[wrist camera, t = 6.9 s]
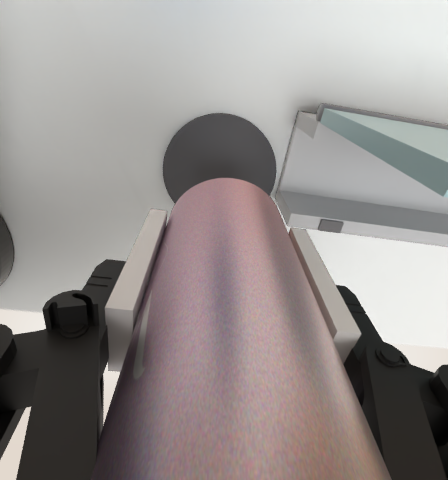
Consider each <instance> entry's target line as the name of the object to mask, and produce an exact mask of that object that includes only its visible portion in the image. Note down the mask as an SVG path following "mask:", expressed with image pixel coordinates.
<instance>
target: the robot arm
mask: <svg viewBox="0 0 448 480" xmlns="http://www.w3.org/2000/svg"><path fill="white" fill-rule="evenodd" d="M166 220H167V211H164V210H157V209H150V211H149V214H148V216H147V218H146V220H145V222H144V224H143V226H142V229H141V231H140V233H139V235H138V237H137V239H136V242H135V244H134V246H133V248H132V250H131V252H130V254H129V257H128V259H127V261H117V260H108V259H106V260H105V261H103V262H102V263H101V264H99V265H98V266H96V268H95V269H94V271H93V273H92V274H91V277H90V278H89V279H88V281H87V283H86V285H85V286H84V288H83V289H82V291H80V290H72V291H67V292H62V293H60V294H58V295H56V296H53V297H52V298H51V299H50V300H49V301H47V302H46V304H45V306H44V307H43V314H44V319H45V325H46V329H44V330H40V331H36V332H29V333H22V334H15V335H13V334H12V330H11V329H10V328H8V327H7V326H6V325H2V324H0V459H1V457H2V455H3V453H4V451H5V449H6V447H7V445H8V443H9V441H10V439H11V437H12V435H13V433H14V431H15V429H16V427H17V425H18V423H19V421H20V418H21V416H22V414H23V412H24V410H25V408H26V407H31V411H30V416H29V421H28V425H27V430H26V435H25V440H24V445H23V450H22V454H21V459H20V464H19V469H18V474H17V478H16V480H91V477H92V473H93V470H94V467H95V463H96V458H97V448H98V442H99V438H100V435H101V432H102V429H103V391H104V389H103V388H104V387H103V386H104V383H103V373H104V370H105V367H106V365H107V362H108V371H120V372H121V369H122V366H123V362H124V359H125V356H126V353H127V350H128V347H129V343H130V340H131V337H132V334H133V331H134V328H135V324H136V321H137V318H138V315H139V312H140V309H141V305H142V302H143V299H144V296H145V293H146V290H147V286H148V283H149V280H150V277H151V274H152V271H153V267H154V264H155V261H156V258H157V255H158V252H159V248H160V245H161V242H162V239H163V236H164V233H165V230H166ZM289 237H290V239H291V242H292V244H293V246H294V249H295V251H296V253H297V256H298V258H299V261H300V263H301V265H302V268H303V270H304V272H305V275H306V277H307V280H308V282H309V284H310V287H311V289H312V291H313V294H314V296H315V299H316V301H317V303H318V306H319V308H320V310H321V313H322V315H323V318H324V320H325V322H326V325H327V327H328V329H329V332H330V334H331V337H332V339H333V341H334V344H335V346H336V348H337V351H338V353H339V356H340V358H341V360H342V363H343V365H344V367H345V370H346V372H347V375H348V377H349V379H350V382H351V384H352V386H353V389H354V391H355V394H356V396H357V398H358V401H359V403H360V405H361V408H362V410H363V413H364V415H365V417H366V420H367V422H368V424H369V427H370V429H371V432H372V434H373V436H374V439H375V441H376V443H377V446H378V448H379V451H380V453H381V455H382V458H383V460H384V462H385V465H386V467H387V470H388V472H389V474H390V477H391V479H392V480H448V365H442V366H441V367H439V368H438V369H437V371H436V372H435V373H433V372H430V371H427V370H425V369H422V368H419V367H416V366H413V365H411V364H410V363H409V361H408V359H407V358H406V357H405V356H404V355H403V354H402V353H401V351H399V350H398V349H397V348H395V347H394V346H392V345H390V344H388V343H385V342H383V341H382V339H381V337H380V336H379V334H378V332H377V331H376V329H375V327H374V326H373V324H372V322H371V321H370V319H369V317H368V316H367V314H365V313H366V312H365V311H364V309H363V307H362V306H361V304H360V302H359V301H358V299H357V297H356V296H355V294H353V293H352V292H351V291H350V290H349V289H348V288H347V287H346V286H339V285H335V283H334V281H333V280H332V278H331V276H330V274H329V272H328V270H327V268H326V266H325V265H324V263H323V261H322V259H321V257H320V255H319V253H318V252H317V250H316V248H315V246H314V244H313V242H312V240H311V238H310V237H309V235H308V233H307V231H306V229H299V228H290V231H289ZM13 258H14V252H13V245H12V240H11V237H10V234H9V231H8V229H7V227H6V225H5V223H4V221H3V219H2V218H1V216H0V285H1V284H2V283H3V282H4V281H5V279H6V278H7V277H8V275H9V273H10V271H11V268H12V265H13Z"/></svg>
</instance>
